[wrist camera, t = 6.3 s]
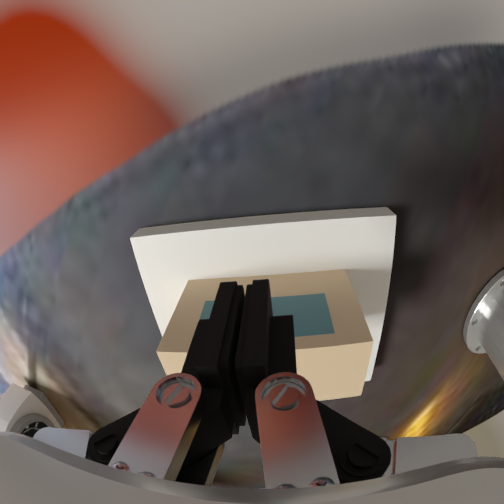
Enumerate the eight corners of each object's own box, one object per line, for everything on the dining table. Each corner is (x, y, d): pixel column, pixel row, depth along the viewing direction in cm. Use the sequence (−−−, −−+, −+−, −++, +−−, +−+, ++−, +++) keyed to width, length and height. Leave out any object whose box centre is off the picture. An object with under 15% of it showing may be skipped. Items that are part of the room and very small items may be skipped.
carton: (341, 320, 24) (344, 268, 21) (361, 395, 16) (373, 340, 14) (201, 328, 25) (188, 279, 23) (179, 402, 18) (156, 351, 15)
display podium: (386, 206, 21) (396, 215, 19) (366, 367, 29) (370, 380, 27) (139, 228, 23) (129, 237, 21) (188, 376, 31) (184, 389, 29)
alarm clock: (77, 433, 45) (47, 504, 26) (49, 421, 45) (18, 486, 27) (40, 381, 37) (-8, 466, 19) (12, 369, 37) (-35, 442, 19)
